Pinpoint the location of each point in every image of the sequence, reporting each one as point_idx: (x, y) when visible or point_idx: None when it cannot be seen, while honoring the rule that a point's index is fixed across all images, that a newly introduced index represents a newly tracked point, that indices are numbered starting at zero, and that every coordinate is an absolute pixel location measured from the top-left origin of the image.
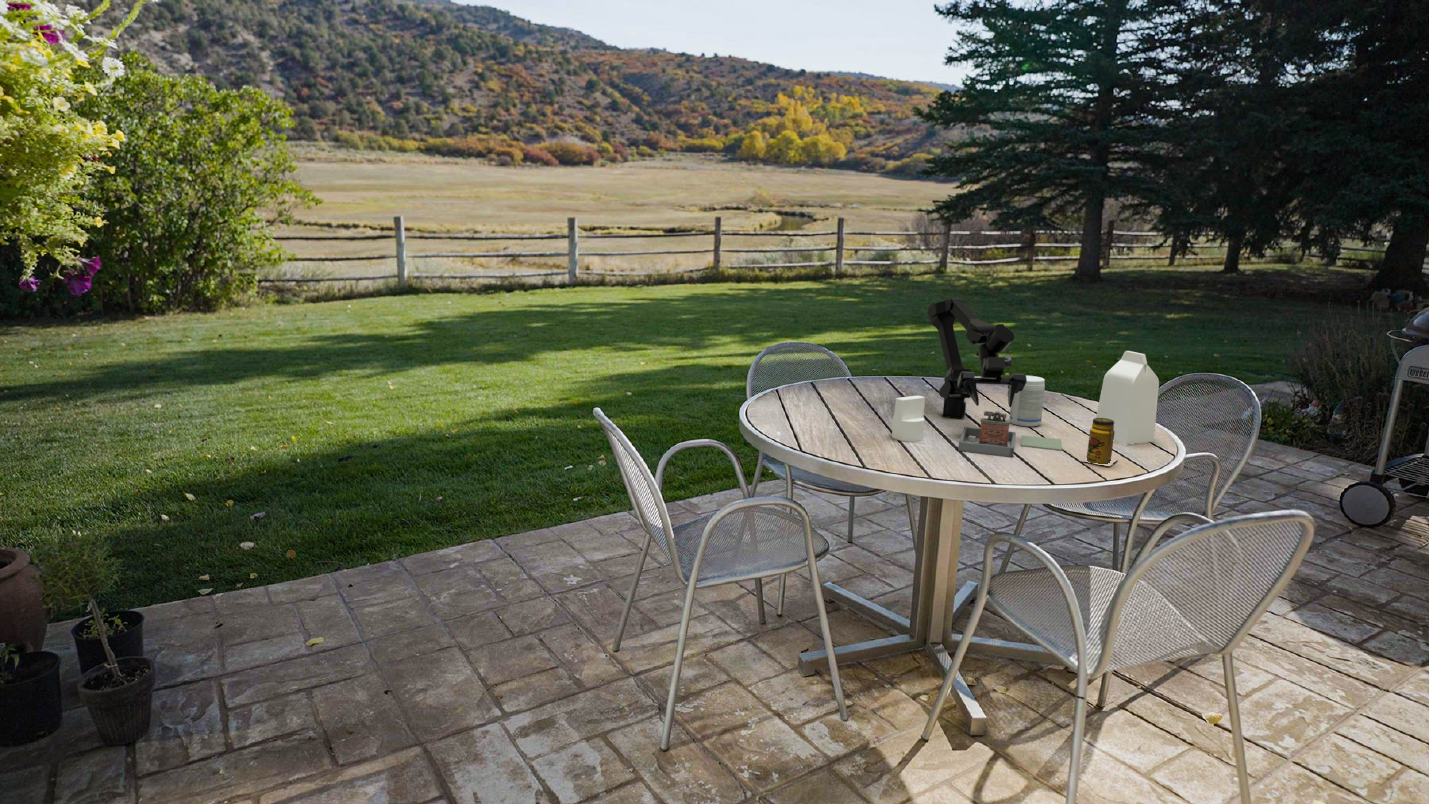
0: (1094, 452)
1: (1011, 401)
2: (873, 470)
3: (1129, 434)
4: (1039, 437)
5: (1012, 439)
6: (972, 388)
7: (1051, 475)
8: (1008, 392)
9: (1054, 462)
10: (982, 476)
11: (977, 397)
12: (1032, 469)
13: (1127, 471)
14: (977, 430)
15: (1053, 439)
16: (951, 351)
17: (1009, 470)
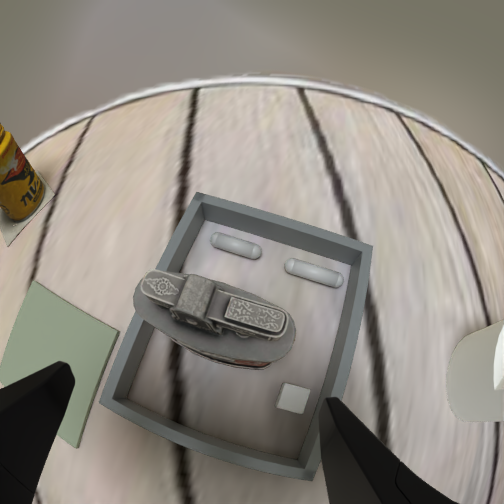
0: (32, 168)
1: (41, 373)
2: (469, 149)
3: None
4: None
5: None
6: (434, 497)
7: (173, 115)
8: (15, 502)
9: (110, 183)
10: (315, 107)
11: (352, 437)
12: (193, 135)
13: None
14: (257, 457)
15: (10, 381)
16: None
17: (251, 127)
